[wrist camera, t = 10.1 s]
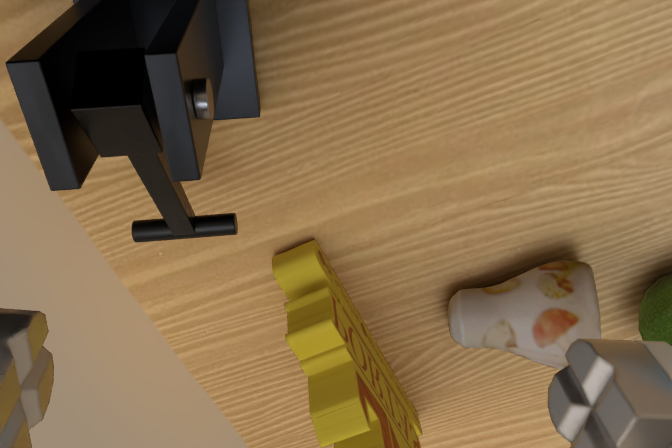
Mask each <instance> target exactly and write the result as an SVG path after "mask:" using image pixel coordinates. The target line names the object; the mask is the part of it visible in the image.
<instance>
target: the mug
mask: <svg viewBox="0 0 672 448" xmlns="http://www.w3.org/2000/svg"><path fill="white" fill-rule="evenodd" d="M448 326H449V331H450V335H451V337H452V338H453V340H455V341H456V342H457V343H459V344H460V345H461V346H462V347H465V348H492V349H499V350H503V351H507V352H510V353H513V354H516V355H518V356H521V357H524V358H527V359H529V360H532V361H535V362H537V363H540V364H543V365H546V366H549V367H552V368H556V369H561V370H562V369H563V368H565V367H566V366H568V363H567V360H566V357H565V354H566V352H567V350H568V348H569V346H570V345H571V344H572V343H573V342H574V341H576V340H577V339H578V338H581V339H601V323H600V311H599V303H598V297H597V291H596V286H595V281H594V276H593V271H592V268H591V266H590V265H589V264H587V263H584V262H579V261H556V262H551V263H547V264H544V265H541V266H538V267H536V268H533V269H531V270H529V271H527V272H525V273H523V274H521V275H518V276H516V277H514V278H512V279H510V280H507V281H505V282H503V283H501V284H498V285H494V286H491V287H485V288H475V289H461V290H459V291H458V292H457V293H456V294H455V295H454V296H452V298H451V299H450V302H449V306H448Z"/></svg>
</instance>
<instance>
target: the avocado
mask: <svg viewBox="0 0 672 448" xmlns="http://www.w3.org/2000/svg"><path fill="white" fill-rule="evenodd" d="M639 331H640V334H641V336H642V339H643V341H663V342H666V343H668V344H669V345H671V346H672V274H669V275H667V276H664V277H662V278H659V279H658V280H657V281H656V282H655V283H654V284H653V285H652V286H650V287H649V288H648V289H647V290H646V291H645V293H644V296H643V298H642V301H641V304H640V309H639Z"/></svg>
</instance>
